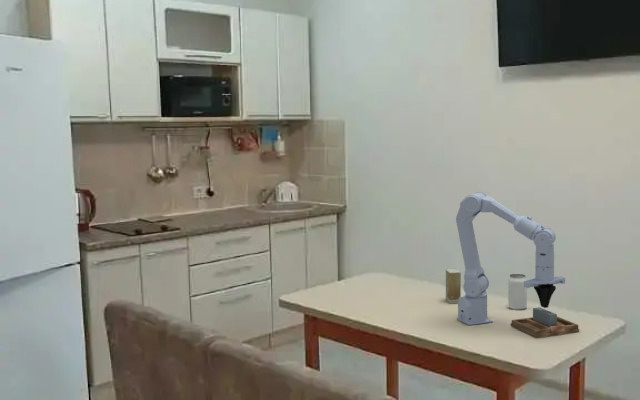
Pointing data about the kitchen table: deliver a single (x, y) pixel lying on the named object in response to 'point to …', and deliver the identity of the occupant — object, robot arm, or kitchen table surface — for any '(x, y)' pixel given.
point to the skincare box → (453, 285)
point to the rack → (544, 327)
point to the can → (517, 292)
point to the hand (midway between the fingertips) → (544, 306)
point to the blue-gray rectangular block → (544, 317)
